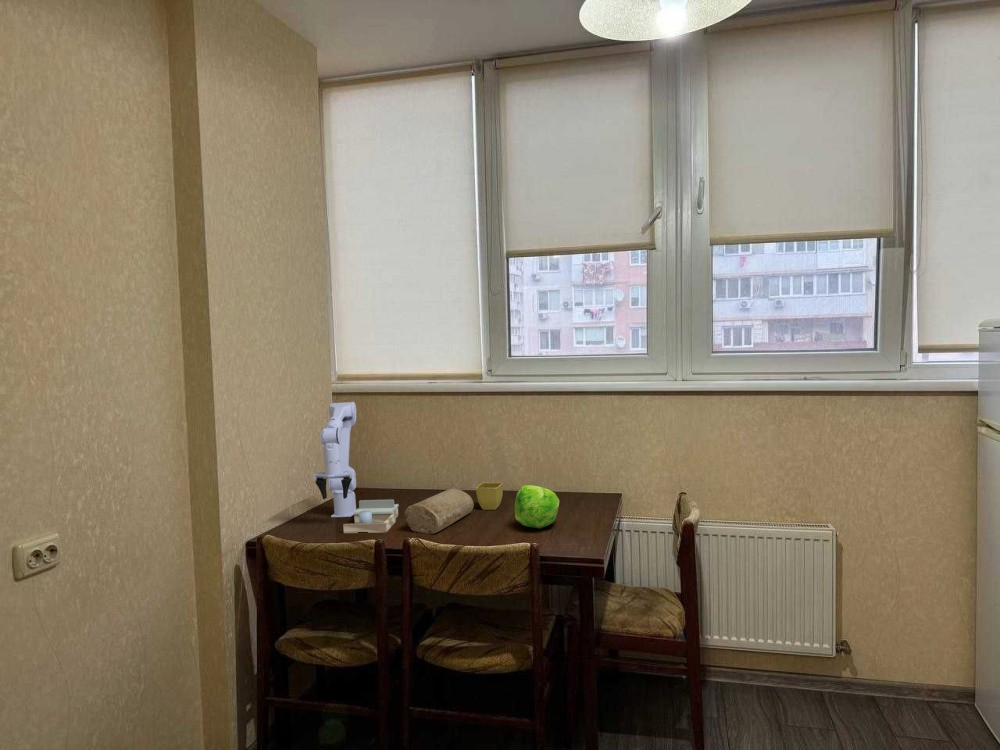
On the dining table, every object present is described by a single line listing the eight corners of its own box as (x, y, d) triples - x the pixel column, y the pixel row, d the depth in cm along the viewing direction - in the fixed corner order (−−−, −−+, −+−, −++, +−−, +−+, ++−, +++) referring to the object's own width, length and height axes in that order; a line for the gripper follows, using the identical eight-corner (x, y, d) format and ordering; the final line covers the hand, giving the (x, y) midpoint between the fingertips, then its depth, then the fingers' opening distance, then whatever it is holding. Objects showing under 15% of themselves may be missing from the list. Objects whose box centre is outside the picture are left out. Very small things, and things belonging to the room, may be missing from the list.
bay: (361, 516, 248) (361, 508, 248) (400, 515, 247) (400, 507, 247) (343, 533, 228) (343, 524, 228) (386, 532, 227) (385, 523, 226)
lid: (362, 507, 250) (361, 497, 249) (398, 506, 248) (397, 496, 248) (354, 514, 240) (353, 504, 239) (391, 513, 238) (391, 503, 238)
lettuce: (554, 517, 236) (562, 482, 233) (552, 543, 216) (560, 505, 213) (514, 508, 237) (521, 473, 234) (508, 533, 217) (516, 495, 214)
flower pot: (476, 511, 248) (474, 487, 248) (482, 505, 256) (481, 482, 256) (498, 511, 246) (497, 487, 245) (504, 505, 254) (503, 482, 254)
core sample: (474, 514, 244) (473, 488, 243) (439, 536, 220) (437, 506, 219) (441, 512, 250) (440, 486, 249) (403, 533, 226) (401, 504, 225)
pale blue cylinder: (361, 525, 236) (361, 510, 236) (373, 525, 236) (373, 510, 235) (358, 529, 232) (357, 514, 231) (370, 529, 231) (369, 513, 231)
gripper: (308, 463, 234) (311, 501, 235) (348, 462, 232) (351, 500, 233) (316, 460, 241) (318, 496, 242) (354, 458, 239) (357, 495, 240)
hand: (335, 498), depth 238 cm, fingers open, 7 cm apart
